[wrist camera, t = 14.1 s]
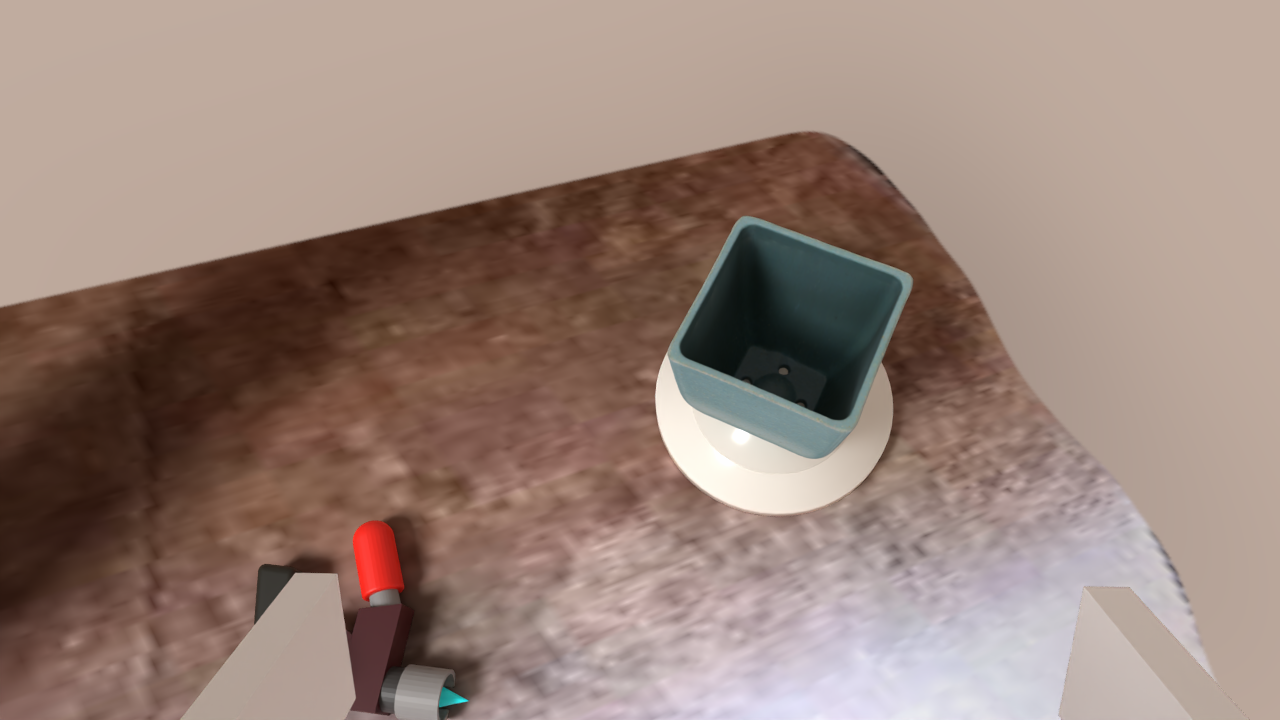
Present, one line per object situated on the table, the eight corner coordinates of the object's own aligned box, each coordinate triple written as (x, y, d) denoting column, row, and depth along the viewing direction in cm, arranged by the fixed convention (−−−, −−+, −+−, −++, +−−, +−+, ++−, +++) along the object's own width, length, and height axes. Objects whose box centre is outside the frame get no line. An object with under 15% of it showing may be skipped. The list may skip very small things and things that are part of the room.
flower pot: (878, 361, 45) (918, 273, 37) (821, 499, 41) (852, 435, 33) (732, 305, 47) (741, 210, 39) (667, 432, 44) (662, 356, 36)
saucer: (612, 441, 45) (610, 433, 44) (727, 271, 49) (727, 260, 48) (824, 563, 41) (827, 557, 40) (926, 367, 46) (932, 358, 45)
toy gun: (468, 740, 39) (439, 736, 34) (234, 707, 40) (179, 700, 36) (507, 541, 43) (487, 515, 39) (296, 517, 44) (253, 490, 40)
